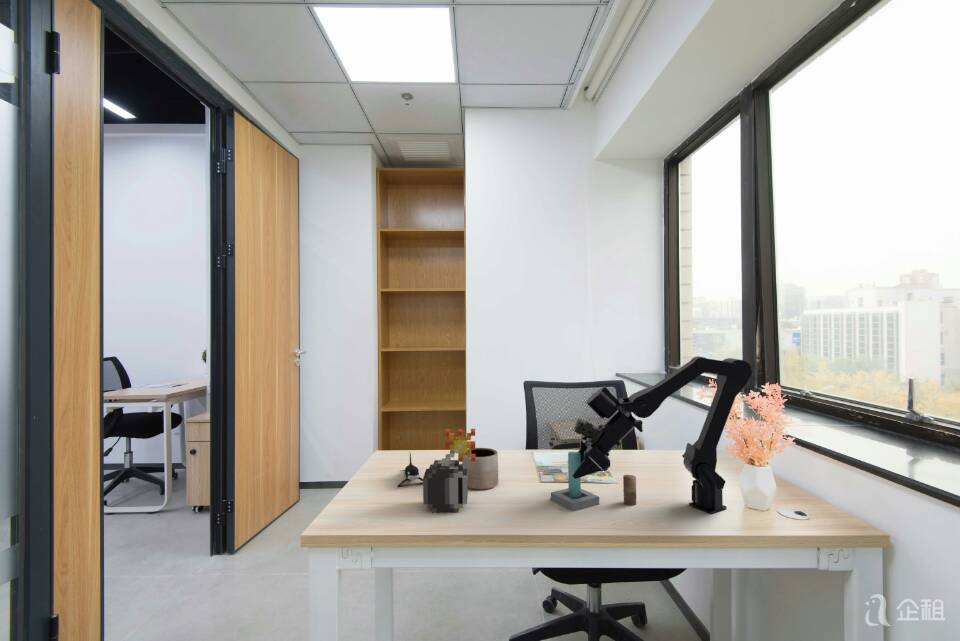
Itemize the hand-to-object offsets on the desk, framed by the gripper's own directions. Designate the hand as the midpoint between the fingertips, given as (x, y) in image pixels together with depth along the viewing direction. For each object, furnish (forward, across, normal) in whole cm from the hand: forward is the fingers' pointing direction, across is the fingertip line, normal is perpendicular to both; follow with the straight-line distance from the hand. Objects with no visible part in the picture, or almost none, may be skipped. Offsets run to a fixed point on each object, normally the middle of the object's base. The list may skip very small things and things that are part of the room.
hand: (572, 471), depth 122 cm
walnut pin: (-5, -1, +16) cm, 17 cm away
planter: (+24, -11, -13) cm, 30 cm away
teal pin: (+5, 0, +6) cm, 8 cm away
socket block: (+5, 0, +6) cm, 8 cm away
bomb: (+28, +7, -17) cm, 34 cm away
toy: (+40, -14, -29) cm, 51 cm away
